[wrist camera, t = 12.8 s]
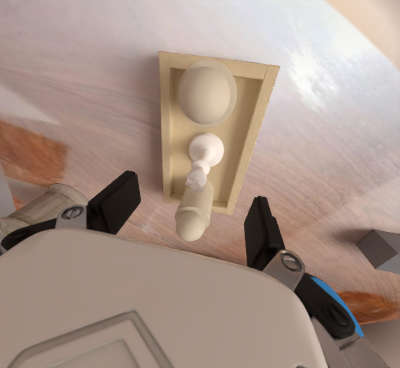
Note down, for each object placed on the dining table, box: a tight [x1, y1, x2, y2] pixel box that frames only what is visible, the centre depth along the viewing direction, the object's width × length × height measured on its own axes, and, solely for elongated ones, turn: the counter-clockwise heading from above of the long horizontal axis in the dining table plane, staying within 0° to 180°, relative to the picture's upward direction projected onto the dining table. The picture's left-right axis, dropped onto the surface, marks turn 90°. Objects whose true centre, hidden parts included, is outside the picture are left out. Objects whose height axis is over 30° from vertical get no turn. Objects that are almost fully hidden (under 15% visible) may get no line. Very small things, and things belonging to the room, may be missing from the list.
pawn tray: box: [159, 51, 280, 242], centre depth 18 cm, size 20×12×11 cm, turn 173°
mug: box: [0, 183, 88, 236], centre depth 29 cm, size 14×10×12 cm
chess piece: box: [185, 133, 224, 194], centre depth 17 cm, size 5×5×10 cm
